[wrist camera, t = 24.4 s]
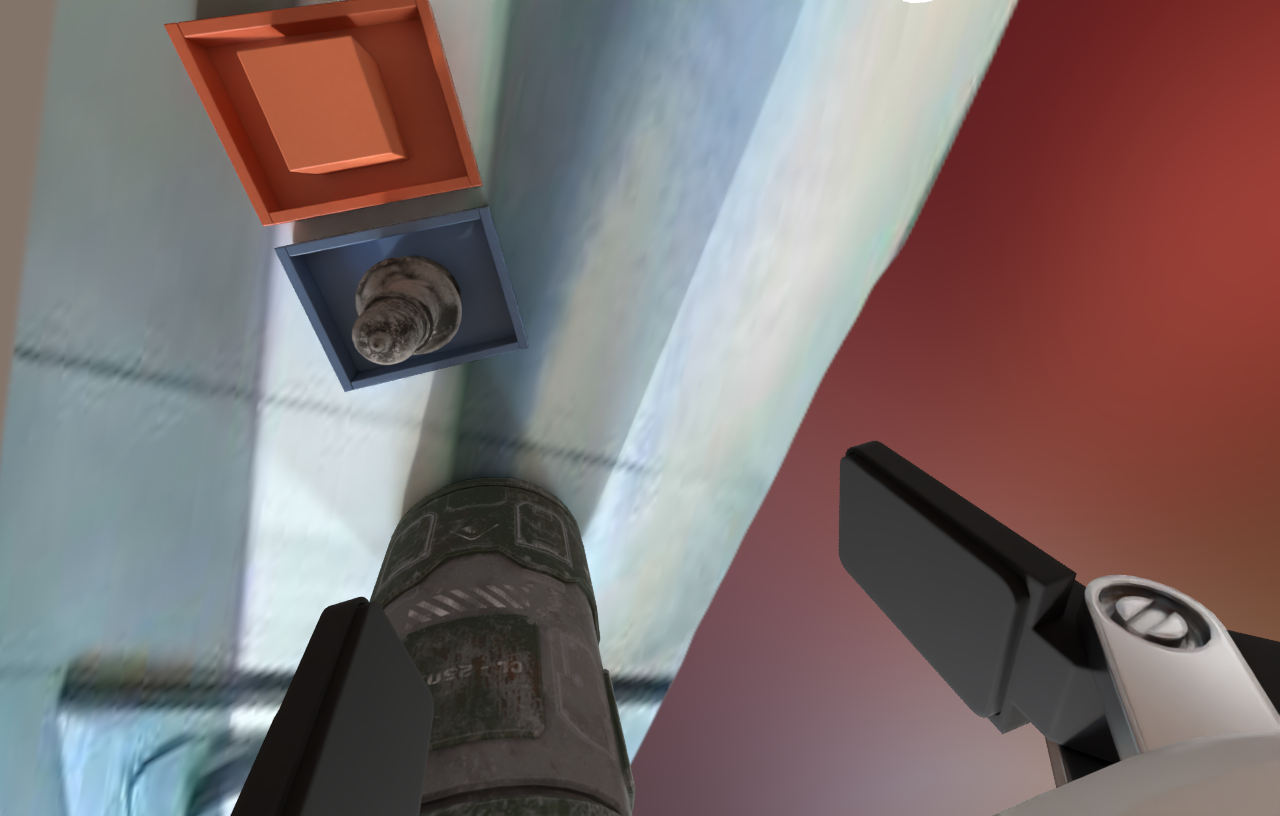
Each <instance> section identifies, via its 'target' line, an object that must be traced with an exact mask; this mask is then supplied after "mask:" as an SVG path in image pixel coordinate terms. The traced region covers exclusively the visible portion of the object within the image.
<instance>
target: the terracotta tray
mask: <svg viewBox="0 0 1280 816" xmlns="http://www.w3.org/2000/svg"><path fill="white" fill-rule="evenodd" d="M164 26H165V28H166V30H167V32H168V34H169V36H170V38H171V40H172V42H173V44H174V46H175V48H176V50H177V52H178V54H179V57H180V59H181V61H182V63H183V65H184V67H185V69H186V71H187V73H188V75H189V77H190V79H191V81H192V83H193V85H194V87H195V89H196V91H197V93H198V95H199V97H200V99H201V101H202V103H203V105H204V107H205V109H206V111H207V113H208V115H209V117H210V119H211V121H212V123H213V125H214V127H215V130H216V132H217V134H218V136H219V138H220V140H221V142H222V144H223V146H224V148H225V150H226V152H227V154H228V156H229V158H230V160H231V162H232V164H233V166H234V168H235V170H236V172H237V174H238V176H239V178H240V180H241V182H242V184H243V186H244V188H245V190H246V192H247V194H248V196H249V198H250V201H251V203H252V205H253V207H254V209H255V211H256V213H257V215H258V217H259V219H260V221H261V223H262V225H263V226H269V225H276V224H283V223H288V222H294V221H299V220H304V219H309V218H315V217H320V216H325V215H330V214H336V213H341V212H346V211H351V210H357V209H362V208H367V207H372V206H378V205H383V204H388V203H393V202H399V201H404V200H409V199H414V198H420V197H425V196H430V195H435V194H441V193H446V192H451V191H456V190H462V189H467V188H472V187H478V186H482V185H483V184H482V180H481V177H480V173H479V170H478V166H477V163H476V159H475V156H474V153H473V149H472V146H471V142H470V139H469V135H468V132H467V128H466V125H465V122H464V118H463V115H462V111H461V108H460V104H459V101H458V97H457V94H456V91H455V87H454V84H453V80H452V77H451V73H450V70H449V66H448V63H447V59H446V56H445V53H444V49H443V46H442V42H441V39H440V35H439V32H438V28H437V25H436V22H435V18H434V15H433V11H432V8H431V5H430V3H429V1H428V0H348V1H340V2H332V3H325V4H317V5H309V6H301V7H294V8H286V9H278V10H270V11H262V12H255V13H247V14H239V15H231V16H224V17H216V18H208V19H200V20H192V21H185V22H179V23H169V24H164ZM345 35H351V36H352V37H353V38H354V39H355V40H356V41H357V42H358V43H359V44H360V45H361V46H362V47H363V48H364V49H365V50H366V51H367V52H368V53H369V54H370V55H371V56H372V57H373V58H374V59H375V60H376V62H377V64H378V67H379V70H380V73H381V76H382V79H383V82H384V85H385V87H386V90H387V93H388V96H389V99H390V102H391V105H392V108H393V111H394V114H395V116H396V119H397V122H398V125H399V128H400V131H401V134H402V137H403V140H404V143H405V146H406V148H407V151H408V154H409V157H410V159H409V160H405V161H400V162H394V163H389V164H383V165H377V166H372V167H366V168H361V169H355V170H349V171H344V172H338V173H332V174H327V175H321V174H311V173H301V172H292V171H290V170H289V168H288V166H287V164H286V162H285V159H284V157H283V155H282V153H281V150H280V148H279V146H278V144H277V141H276V139H275V137H274V135H273V133H272V130H271V128H270V126H269V124H268V121H267V119H266V117H265V115H264V112H263V110H262V108H261V106H260V104H259V101H258V99H257V97H256V95H255V92H254V90H253V88H252V86H251V83H250V81H249V79H248V77H247V75H246V72H245V70H244V68H243V66H242V63H241V61H240V59H239V57H238V54H237V51H238V50H244V49H252V48H259V47H266V46H273V45H280V44H288V43H295V42H302V41H309V40H317V39H324V38H331V37H338V36H345Z"/></svg>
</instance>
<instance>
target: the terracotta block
mask: <svg viewBox="0 0 1280 816" xmlns="http://www.w3.org/2000/svg"><path fill="white" fill-rule="evenodd" d="M237 54H238V57H239V59H240V61H241V63H242V66H243V68H244V70H245V72H246V75H247V77H248V79H249V81H250V83H251V86H252V88H253V90H254V92H255V95H256V97H257V99H258V101H259V104H260V106H261V108H262V110H263V112H264V115H265V117H266V119H267V121H268V124H269V126H270V128H271V130H272V133H273V135H274V137H275V139H276V141H277V144H278V146H279V148H280V150H281V153H282V155H283V157H284V159H285V162H286V164H287V166H288V168H289V170H290V171H292V172H301V173H311V174H321V175H327V174H332V173H338V172H344V171H349V170H355V169H361V168H366V167H372V166H377V165H383V164H389V163H394V162H400V161H405V160H409V159H410V157H409V154H408V151H407V148H406V146H405V143H404V140H403V137H402V134H401V131H400V128H399V125H398V122H397V119H396V116H395V114H394V111H393V108H392V105H391V102H390V99H389V96H388V93H387V90H386V87H385V85H384V82H383V79H382V76H381V73H380V70H379V67H378V64H377V62H376V60H375V59H374V58H373V57H372V56H371V55H370V54H369V53H368V52H367V51H366V50H365V49H364V48H363V47H362V46H361V45H360V44H359V43H358V42H357V41H356V40H355V39H354V38H353V37H352V36H351V35H345V36H338V37H331V38H324V39H317V40H309V41H302V42H295V43H288V44H280V45H273V46H266V47H259V48H252V49H244V50H238V51H237Z"/></svg>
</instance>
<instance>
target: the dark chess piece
mask: <svg viewBox="0 0 1280 816" xmlns="http://www.w3.org/2000/svg"><path fill="white" fill-rule="evenodd" d="M461 299H462V297H461V292H460V288H459V285H458V283H457V281H456V279H455V278H454V276H453V275H452V274H451V273H450V272H449V270H448V269H447V268H445V267H444V266H443V265H441V264H440V263H438V262H437V261H434V260H432V259H430V258H427V257H422V256H416V255H413V256H403V257H397V258H389V259H386V260H384V261H381V262H379V263H376V264H375V265H374V266H373V267H371V268H370V269H369V270H367V271H366V273H365V274H364V275H363V277H362V278H361V280H360V281H359V284H358V287H357V291H356V309H357V313H358V316H359V317H358V318H357V320H356V321H355V322H354V326H353V329H352V340H353V343H354V346H355V347H356V349H357V350H358V352H359V353H360V354H361V355H362V356H363V357H365V358H366V359H368V360H370V361H371V362H374V363H378V364H383V365H391V364H397V363H399V362H402V361H404V360H406V359H407V358H409V357H410V356H411V355H412V354H415V355H417V354H425V353H430V352H433V351H435V350H438V349H440V348H442V347H443V346H444V345H446V344H447V343H448V342H450V341H451V339H452V338H453V336H454V335H455V334H456V332H457V331H458V328H459V325H460V322H461V316H462V306H461Z"/></svg>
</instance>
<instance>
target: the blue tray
mask: <svg viewBox="0 0 1280 816" xmlns="http://www.w3.org/2000/svg"><path fill="white" fill-rule="evenodd" d="M275 251H276V253H277V255H278V257H279V259H280V261H281V263H282V265H283V267H284V269H285V271H286V273H287V276H288V278H289V280H290V282H291V284H292V286H293V288H294V290H295V292H296V294H297V296H298V298H299V300H300V302H301V304H302V306H303V308H304V310H305V312H306V314H307V316H308V318H309V320H310V322H311V324H312V326H313V328H314V330H315V332H316V334H317V336H318V338H319V340H320V342H321V344H322V347H323V349H324V351H325V353H326V355H327V357H328V359H329V361H330V363H331V365H332V367H333V369H334V371H335V373H336V375H337V377H338V379H339V381H340V383H341V385H342V387H343V389H344V391H345V392H348V391H352V390H354V389H355V390H356V389H360V388H364V387H369V386H373V385H377V384H381V383H385V382H389V381H393V380H397V379H401V378H406V377H410V376H414V375H418V374H422V373H426V372H430V371H434V370H438V369H443V368H447V367H451V366H455V365H459V364H463V363H467V362H471V361H476V360H480V359H484V358H488V357H492V356H496V355H500V354H504V353H508V352H513V351H517V350H520V349H525V348H528V340H527V335H526V332H525V328H524V325H523V321H522V318H521V315H520V311H519V308H518V304H517V301H516V297H515V294H514V290H513V287H512V283H511V280H510V277H509V273H508V270H507V266H506V263H505V259H504V256H503V252H502V249H501V246H500V242H499V239H498V235H497V232H496V228H495V225H494V221H493V218H492V215H491V211H490V208H489V206H483V207H478V208H473V209H468V210H463V211H458V212H453V213H448V214H442V215H437V216H432V217H427V218H422V219H417V220H412V221H407V222H402V223H397V224H392V225H387V226H381V227H376V228H371V229H366V230H361V231H356V232H351V233H346V234H341V235H336V236H331V237H326V238H320V239H315V240H310V241H305V242H300V243H295V244H290V245H286V246H282V247H278V248H275ZM413 255H416V256H422V257H427V258H430V259H432V260H434V261H437V262H438V263H440V264H441V265H443V266H444V267H445V268H447V269H448V270H449V272H450V273H451V274H452V275H453V276H454V278H455V279H456V281H457V283H458V285H459V288H460V292H461V297H462V299H461V306H462V316H461V322H460V325H459V328H458V331H457V332H456V334H455V335H454V336H453V338H452V339H451V341H450V342H448V343H447V344H446V345H444V346H443V347H442V348H440V349H438V350H435V351H433V352H430V353H425V354H417V355H415V354H412V355H411V356H410V357H409V358H407V359H406V360H404V361H402V362H399V363H397V364H391V365H383V364H378V363H374V362H371V361H370V360H368V359H366V358H365V357H363V356H362V355H361V354H360V353H359V352H358V350H357V349H356V347H355V346H354V343H353V340H352V329H353V326H354V322H355V321H356V320H357V318H358V317H359V316H358V313H357V309H356V291H357V287H358V284H359V281H360V280H361V278H362V277H363V275H364V274H365V273H366V271H367V270H369V269H370V268H371V267H373V266H374V265H375V264H376V263H379V262H381V261H384V260H386V259H389V258H397V257H403V256H413Z"/></svg>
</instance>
